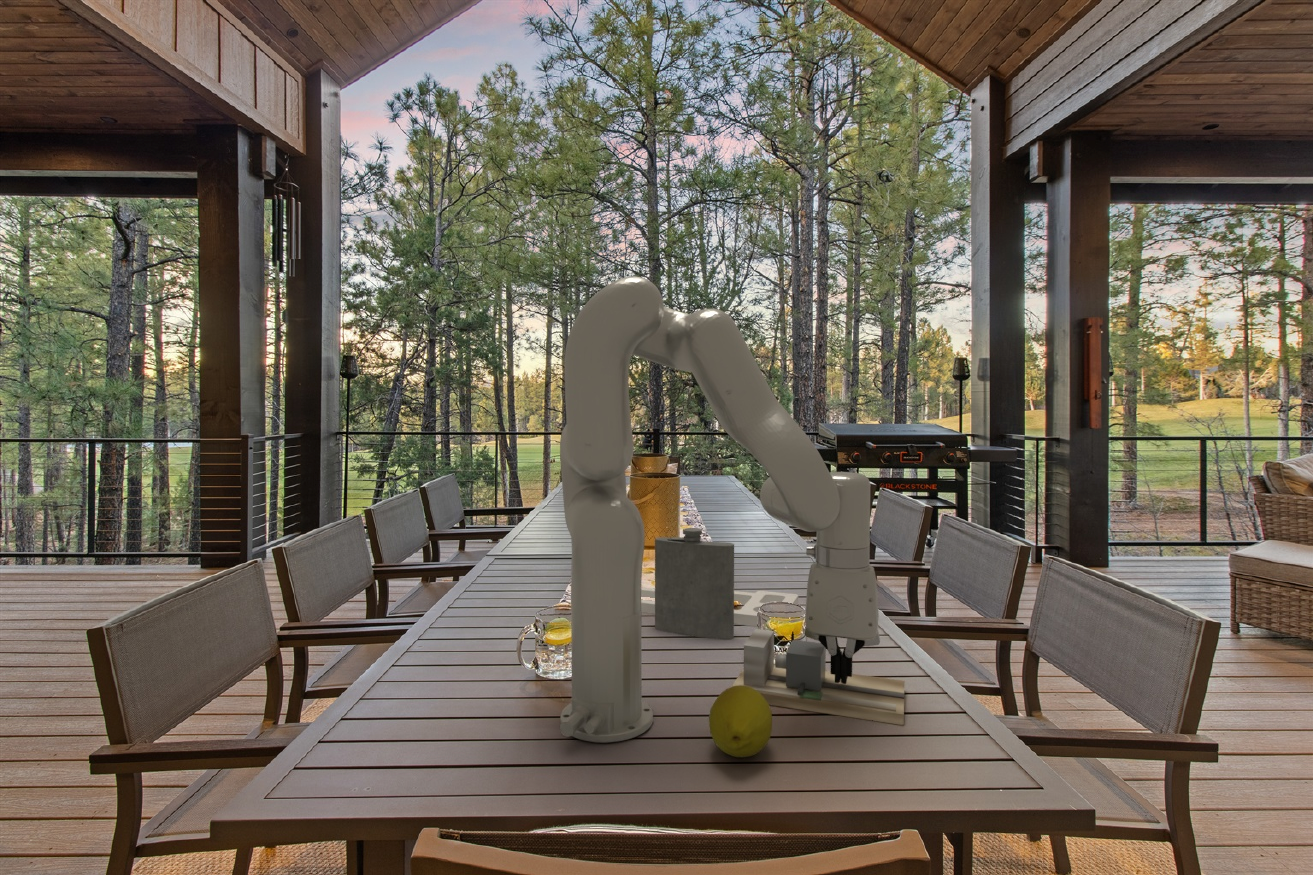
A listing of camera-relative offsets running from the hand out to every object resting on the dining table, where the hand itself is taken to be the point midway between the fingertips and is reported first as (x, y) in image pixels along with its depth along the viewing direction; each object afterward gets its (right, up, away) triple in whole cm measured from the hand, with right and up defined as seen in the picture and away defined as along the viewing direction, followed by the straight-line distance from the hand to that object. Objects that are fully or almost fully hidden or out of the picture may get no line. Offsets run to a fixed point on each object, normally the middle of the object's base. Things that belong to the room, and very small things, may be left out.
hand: (841, 679), depth 100 cm
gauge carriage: (-6, -1, +1) cm, 6 cm away
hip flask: (-20, -2, +29) cm, 36 cm away
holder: (-21, -1, +48) cm, 52 cm away
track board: (-3, -3, +1) cm, 4 cm away
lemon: (-17, -4, -16) cm, 24 cm away
